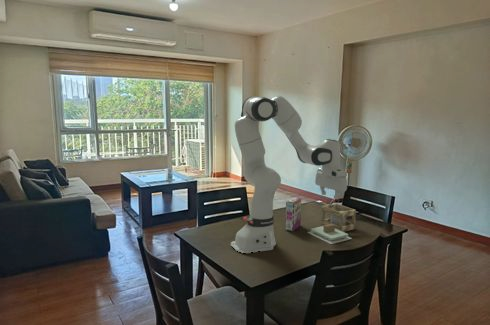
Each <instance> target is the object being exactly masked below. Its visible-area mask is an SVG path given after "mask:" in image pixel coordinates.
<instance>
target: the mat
mask: <svg viewBox="0 0 490 325" xmlns="http://www.w3.org/2000/svg"><path fill="white" fill-rule="evenodd" d="M307 234H310V235H311V236H313V237H315V238H317V239H318V240H322V241H324V243H325V242H326V243H327V244H329V245H333V244H337V243H342V242H345V241H349V240H352V237H350V236H349V235H348V236H347V237H343V238H339V239H335V240H329V239H327V238H325V237H323V236H321V235H319V234H317V233H315V232H313V231H311V230H310V231H307Z"/></svg>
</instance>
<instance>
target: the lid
mask: <svg viewBox="0 0 490 325" xmlns="http://www.w3.org/2000/svg"><path fill="white" fill-rule="evenodd" d="M310 231H313V232H315V233H317V234H319V235H321V236H323V237H325V238H327V239H329V240H335V239H339V238H343V237H347V236H348V237H349V234H348V233H346V232H342V231H340V230H337V229H335V224H328V225H322V226H319V227H318V226H317V227H313V228H310Z"/></svg>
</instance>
